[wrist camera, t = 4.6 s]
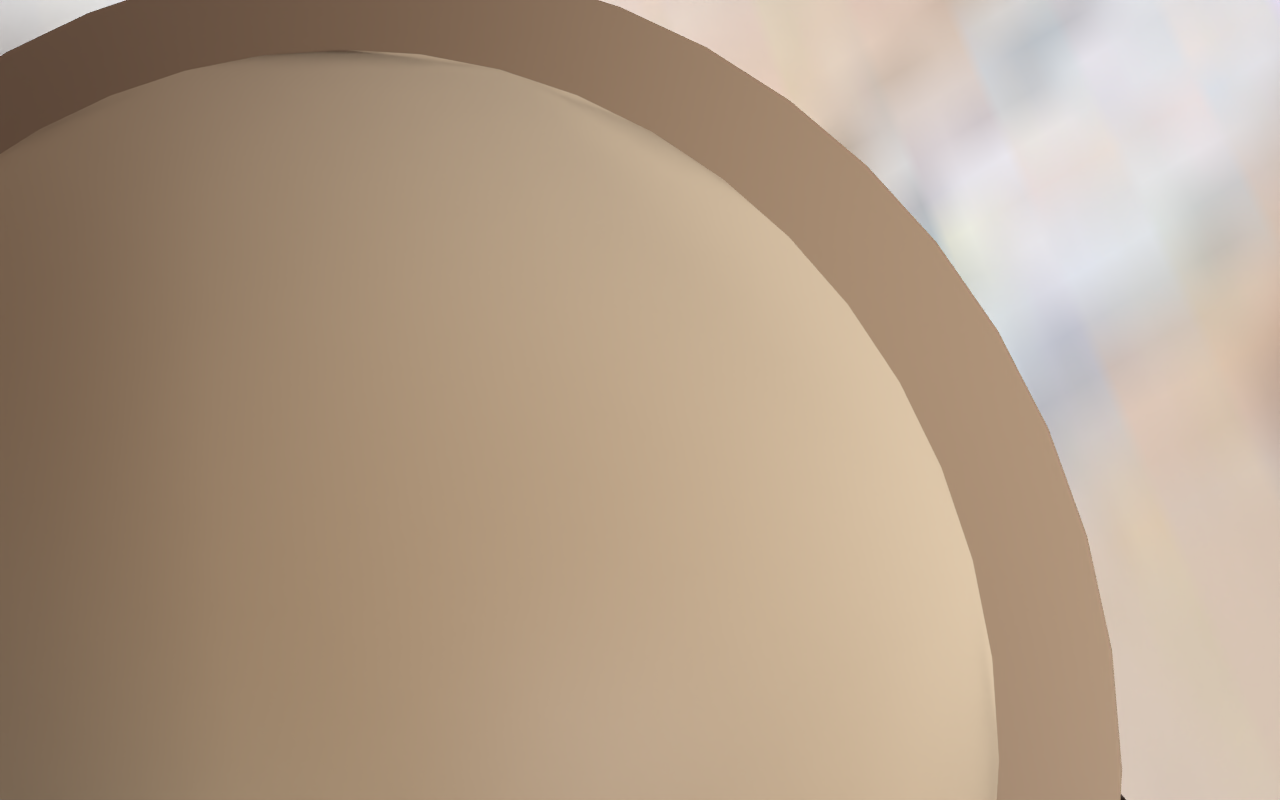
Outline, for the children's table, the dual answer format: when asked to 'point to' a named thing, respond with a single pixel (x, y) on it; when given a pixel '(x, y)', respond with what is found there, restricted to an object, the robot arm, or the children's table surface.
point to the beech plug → (503, 432)
